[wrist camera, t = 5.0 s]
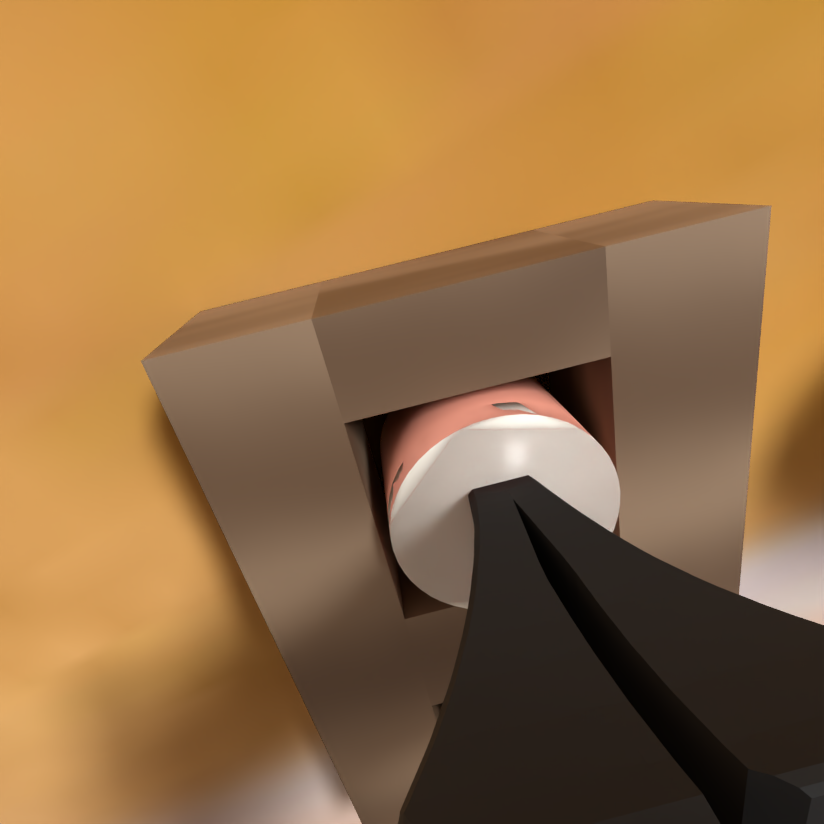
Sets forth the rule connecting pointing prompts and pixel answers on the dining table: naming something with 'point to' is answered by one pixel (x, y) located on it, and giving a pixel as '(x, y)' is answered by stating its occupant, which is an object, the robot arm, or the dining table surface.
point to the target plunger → (481, 474)
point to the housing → (449, 376)
